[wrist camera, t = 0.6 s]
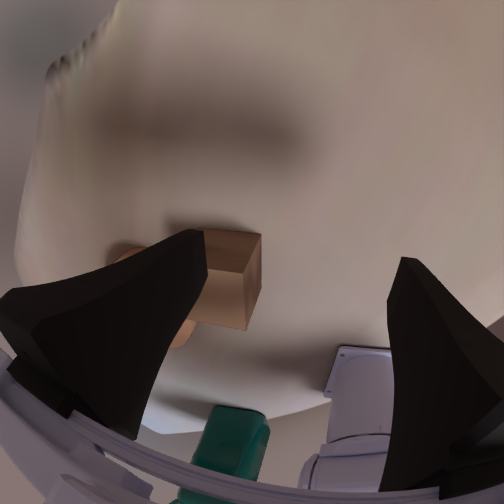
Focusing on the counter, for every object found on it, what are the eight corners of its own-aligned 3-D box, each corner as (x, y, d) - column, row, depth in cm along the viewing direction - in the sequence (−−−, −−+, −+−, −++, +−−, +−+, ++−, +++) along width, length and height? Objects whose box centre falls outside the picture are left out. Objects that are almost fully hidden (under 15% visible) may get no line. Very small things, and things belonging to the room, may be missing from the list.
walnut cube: (261, 287, 24) (245, 330, 20) (205, 278, 25) (181, 317, 21) (261, 233, 21) (242, 273, 17) (198, 227, 22) (168, 262, 18)
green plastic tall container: (264, 410, 36) (219, 550, 18) (272, 432, 40) (236, 550, 22) (201, 400, 39) (147, 524, 21) (217, 424, 43) (174, 530, 25)
